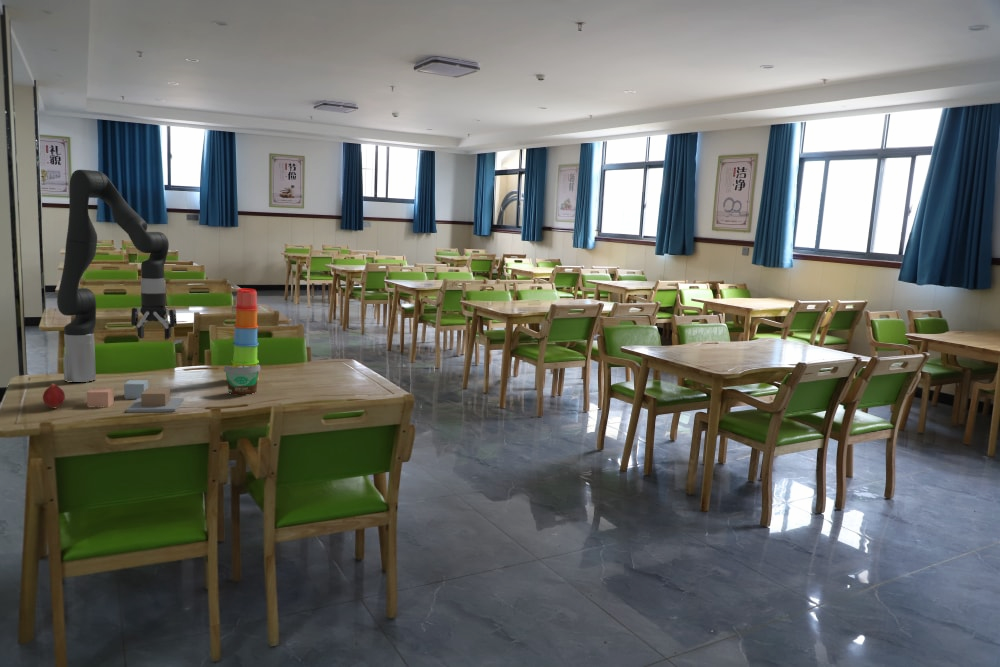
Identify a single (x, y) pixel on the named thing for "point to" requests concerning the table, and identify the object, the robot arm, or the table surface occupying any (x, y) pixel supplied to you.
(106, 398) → the brick
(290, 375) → the table surface
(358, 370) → the table surface
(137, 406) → the tower base
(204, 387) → the table surface
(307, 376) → the table surface
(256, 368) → the food container
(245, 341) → the stacking cups
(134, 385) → the brick
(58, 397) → the onion
